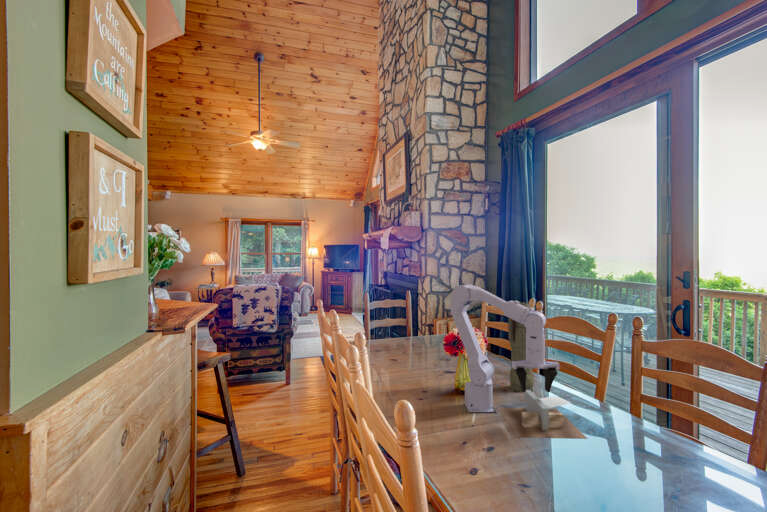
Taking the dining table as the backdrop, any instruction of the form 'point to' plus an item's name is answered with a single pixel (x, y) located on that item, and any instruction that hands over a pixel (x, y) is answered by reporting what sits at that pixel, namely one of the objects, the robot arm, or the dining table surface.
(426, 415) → the dining table surface
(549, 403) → the hard drive
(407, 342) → the dining table surface
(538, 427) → the base
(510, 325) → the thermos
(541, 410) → the long gray bar
